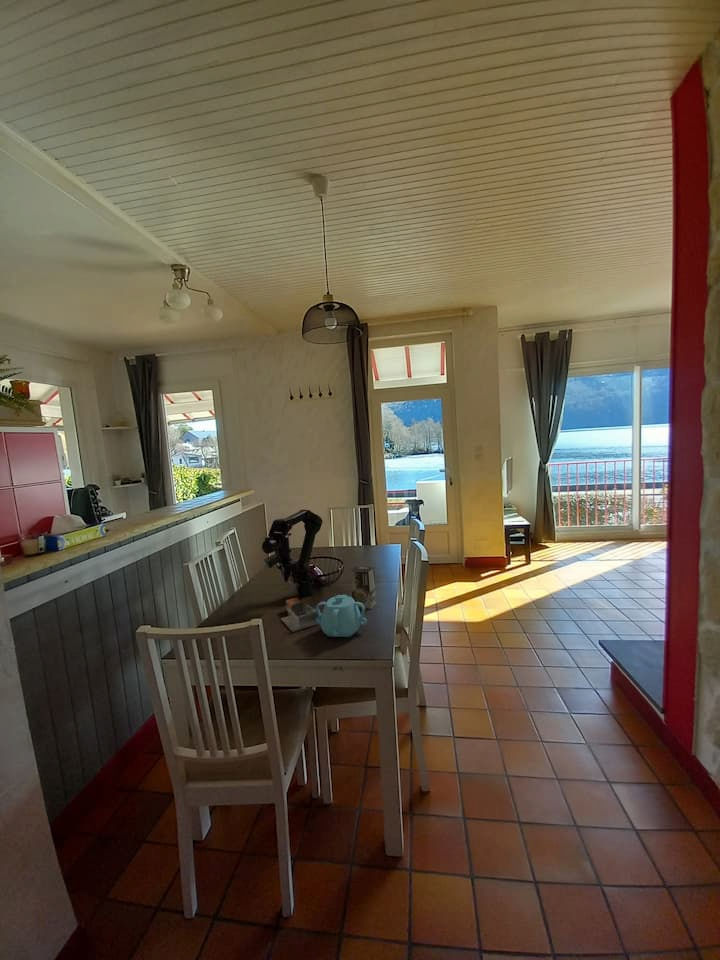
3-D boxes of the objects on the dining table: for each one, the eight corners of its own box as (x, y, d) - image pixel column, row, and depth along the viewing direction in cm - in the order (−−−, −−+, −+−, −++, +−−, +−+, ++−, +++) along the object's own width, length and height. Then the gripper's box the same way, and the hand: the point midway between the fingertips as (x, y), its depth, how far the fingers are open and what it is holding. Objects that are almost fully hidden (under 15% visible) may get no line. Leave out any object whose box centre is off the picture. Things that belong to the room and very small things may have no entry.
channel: (315, 610, 166) (314, 599, 165) (328, 621, 155) (327, 608, 154) (281, 620, 158) (280, 608, 158) (292, 632, 147) (291, 619, 147)
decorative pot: (371, 633, 142) (369, 597, 141) (331, 646, 134) (328, 608, 133) (351, 618, 156) (349, 585, 155) (314, 628, 149) (311, 594, 148)
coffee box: (377, 603, 169) (374, 567, 167) (371, 609, 163) (368, 572, 162) (358, 601, 173) (355, 565, 171) (352, 606, 167) (349, 570, 165)
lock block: (297, 607, 170) (296, 597, 170) (303, 612, 164) (302, 602, 164) (286, 610, 168) (285, 600, 167) (292, 616, 162) (291, 605, 161)
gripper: (259, 547, 175) (262, 580, 176) (271, 555, 159) (275, 592, 160) (282, 542, 181) (285, 575, 182) (297, 550, 165) (300, 585, 166)
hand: (286, 581), depth 172 cm, fingers closed
